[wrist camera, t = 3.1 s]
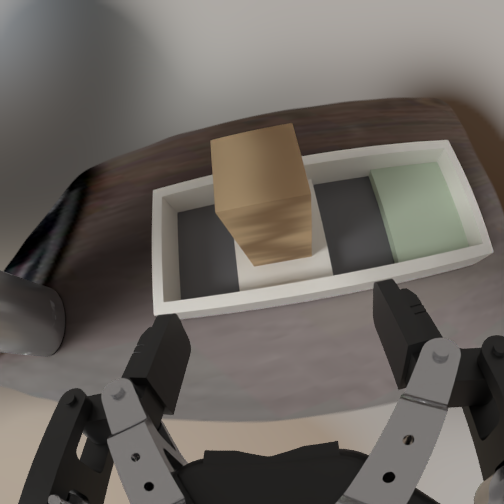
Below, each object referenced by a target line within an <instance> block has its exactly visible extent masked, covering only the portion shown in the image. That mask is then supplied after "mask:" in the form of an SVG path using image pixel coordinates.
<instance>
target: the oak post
mask: <svg viewBox="0 0 504 504" xmlns="http://www.w3.org/2000/svg"><path fill="white" fill-rule="evenodd" d="M211 157H212V173H213V187H214V201H215V213H216V214H217V215H218V217H219V218H220V220H221V221H222V222H223V224H224V225H225V227H226V228H227V229H228V231H229V232H230V234H231V235H232V236H233V238H234V239H235V241H236V242H237V243H238V245H239V246H240V248H241V249H242V250H243V252H244V253H245V255H246V256H247V257H248V259H249V260H250V261H251V263H252V264H253V266H254V267H255V266H260V265H266V264H272V263H278V262H283V261H289V260H295V259H300V258H306V257H311V256H312V213H311V191H310V187H309V183H308V179H307V175H306V172H305V168H304V164H303V160H302V156H301V153H300V149H299V145H298V142H297V138H296V135H295V131H294V128H293V124H292V123H289V124H283V125H278V126H273V127H268V128H263V129H258V130H253V131H248V132H244V133H239V134H235V135H231V136H226V137H222V138H218V139H214V140H211Z"/></svg>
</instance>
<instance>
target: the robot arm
mask: <svg viewBox="0 0 504 504" xmlns="http://www.w3.org/2000/svg"><path fill="white" fill-rule="evenodd" d="M373 319H374V324H375V328H376V330H377V333H378V335H379V338H380V340H381V343H382V345H383V348H384V351H385V353H386V356H387V359H388V361H389V364H390V367H391V370H392V372H393V375H394V378H395V381H396V384H397V386H398V389H399V390H400V389H403V388H406V390H405V392H404V394H403V395H401V397H400V399H399V401H398V403H397V405H396V407H395V409H394V411H393V413H392V415H391V417H390V419H389V421H388V423H387V425H386V427H385V428H384V430H383V432H382V434H381V436H380V438H379V439H378V441H377V443H376V445H375V446H374V448H373V450H372V452H371V453H370V455H367V454H364V453H361V452H358V451H354V450H347V449H339V446H338V441H335V442H329V443H323V444H316V445H309V446H303V447H300V448H297V449H294V450H291V451H288V452H284V453H281V454H278V455H274V456H270V457H267V456H260V455H255V454H249V453H244V452H239V451H209V450H206V451H205V452H204V458H203V459H200V460H196V461H193V462H191V463H187V461H186V460H185V459H184V458H183V456H182V455H181V453H180V452H179V450H178V448H177V446H176V445H175V443H174V441H173V439H172V438H171V436H170V434H169V432H168V430H167V429H166V427H165V425H164V423H163V422H162V421H161V419H162V416H163V414H167V415H174V411H175V407H176V403H177V400H178V396H179V392H180V389H181V385H182V382H183V378H184V374H185V371H186V367H187V364H188V360H189V357H190V353H191V345H190V341H189V338H188V336H187V334H186V332H185V330H184V328H183V326H182V323H181V321H180V319H179V317H178V315H177V314H176V313H171V314H162V315H158V316H157V317H156V319H155V322H154V324H153V326H152V327H149V328H148V329H147V330H146V331H145V332H144V333H143V334H142V335H141V337H140V339H139V341H138V343H137V346H136V348H135V350H134V354H132V356H131V358H130V360H129V362H128V365H127V367H126V369H125V371H124V373H123V375H122V378H120V379H116V380H113V381H111V382H110V383H109V384H107V385H106V387H105V388H104V389H103V391H102V393H101V394H97V395H92V396H87V395H86V394H85V393H84V392H83V391H82V390H81V389H78V388H75V389H71V390H69V391H67V392H66V393H65V394H64V395H63V396H62V397H61V399H60V401H59V403H58V405H57V407H56V409H55V411H54V413H53V416H52V418H51V420H50V422H49V424H48V427H47V429H46V431H45V433H44V436H43V438H42V440H41V443H40V445H39V448H38V450H37V453H36V455H35V458H34V460H33V463H32V466H31V468H30V471H29V474H28V477H27V479H26V482H25V485H24V488H23V491H22V494H21V497H20V500H19V503H18V504H103V503H104V499H105V495H106V491H107V486H108V483H109V479H110V475H111V471H112V467H113V463H114V464H115V466H116V469H117V471H118V475H119V477H120V480H121V482H122V485H123V487H124V490H125V492H126V494H127V497H128V499H129V501H130V504H440V503H438V502H436V501H435V500H434V499H432V498H430V497H429V496H428V495H426V494H424V493H423V492H421V491H420V490H418V489H417V488H415V487H416V485H417V484H418V482H419V480H420V478H421V476H422V473H423V471H424V469H425V467H426V465H427V463H428V460H429V458H430V456H431V454H432V451H433V449H434V446H435V444H436V441H437V439H438V436H439V434H440V431H441V428H442V425H443V423H444V420H445V417H446V414H447V411H448V408H449V407H462V408H463V412H464V414H465V417H466V420H467V423H468V426H469V429H470V433H471V436H472V439H473V442H474V446H475V449H476V453H477V456H478V460H479V464H480V468H481V472H482V476H483V480H484V482H483V483H482V484H481V485H480V486H479V487H478V489H477V491H476V493H475V497H474V504H504V337H503V336H499V335H495V336H491V337H488V338H487V339H486V340H485V341H484V342H483V345H482V347H481V348H470V349H461V348H459V347H458V346H457V344H456V343H455V342H453V341H452V340H449V339H446V338H443V337H442V336H441V334H440V332H439V331H438V329H437V327H436V326H435V324H434V322H433V321H432V319H431V317H430V316H429V314H428V313H427V312H426V309H425V308H424V306H423V305H422V303H421V302H420V300H419V298H418V297H417V295H416V294H414V293H413V292H411V291H410V290H408V289H407V288H406V289H401V290H400V289H399V287H398V286H397V284H396V283H395V281H394V280H393V279H387V280H382V281H377V282H374V286H373ZM64 330H65V312H64V307H63V303H62V301H61V298H60V297H59V295H58V293H57V292H56V291H55V290H53V289H52V288H49V287H46V286H43V285H40V284H37V283H34V282H31V281H28V280H26V279H23V278H20V277H17V276H14V275H11V274H9V273H6V272H3V271H0V352H5V353H13V354H22V355H33V356H50V355H52V354H53V353H55V352H56V350H57V349H58V348H59V346H60V344H61V342H62V339H63V335H64ZM82 433H83V434H85V435H86V436H87V437H88V438H87V440H86V443H85V446H84V449H83V452H82V455H81V458H80V460H79V459H78V457H77V454H76V449H77V446H78V443H79V441H80V438H81V435H82Z"/></svg>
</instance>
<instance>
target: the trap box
mask: <svg viewBox="0 0 504 504" xmlns="http://www.w3.org/2000/svg"><path fill="white" fill-rule="evenodd" d="M302 160H303V164H304V168H305V172H306V175H307V179H308V183H309V187H310V191H311V213H312V256H311V257H306V258H300V259H295V260H289V261H283V262H278V263H272V264H266V265H260V266H255V267H254V266H253V264H252V263H251V261H250V260H249V259H248V257H247V256H246V255H245V253H244V252H243V250H242V249H241V248H240V246H239V245H238V243H237V242H236V241H235V239H234V238H233V236H232V235H231V234H230V232H229V231H228V229H227V228H226V227H225V225H224V224H223V222H222V221H221V220H220V218H219V217H218V215H217V214H216V213H215V201H214V187H213V175H209V176H205V177H201V178H197V179H193V180H189V181H185V182H182V183H178V184H174V185H170V186H167V187H163V188H159V189H156V190H153V205H152V284H153V307H154V316H158V315H162V314H171V313H176V314H177V315H178V317H179V319H188V318H197V317H205V316H213V315H221V314H228V313H236V312H243V311H250V310H257V309H263V308H270V307H276V306H282V305H288V304H294V303H300V302H306V301H312V300H318V299H323V298H328V297H334V296H339V295H344V294H349V293H354V292H359V291H364V290H369V289H373V286H374V282H377V281H382V280H387V279H393V280H394V281H395V283H396V284H397V283H402V282H406V281H410V280H415V279H419V278H423V277H427V276H431V275H435V274H439V273H443V272H447V271H451V270H455V269H459V268H463V267H466V266H470V265H474V264H475V263H477V262H479V261H480V260H482V259H484V258H485V257H487V256H489V255H490V254H492V253H493V248H492V245H491V242H490V238H489V235H488V232H487V229H486V226H485V223H484V220H483V218H482V215H481V212H480V209H479V207H478V204H477V202H476V199H475V197H474V194H473V192H472V189H471V187H470V185H469V182H468V180H467V178H466V176H465V173H464V171H463V169H462V167H461V165H460V163H459V161H458V159H457V156H456V154H455V152H454V151H453V149H452V147H451V145H450V143H449V141H448V140H438V141H422V142H410V143H398V144H388V145H379V146H370V147H362V148H354V149H347V150H339V151H333V152H326V153H319V154H313V155H307V156H302Z"/></svg>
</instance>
